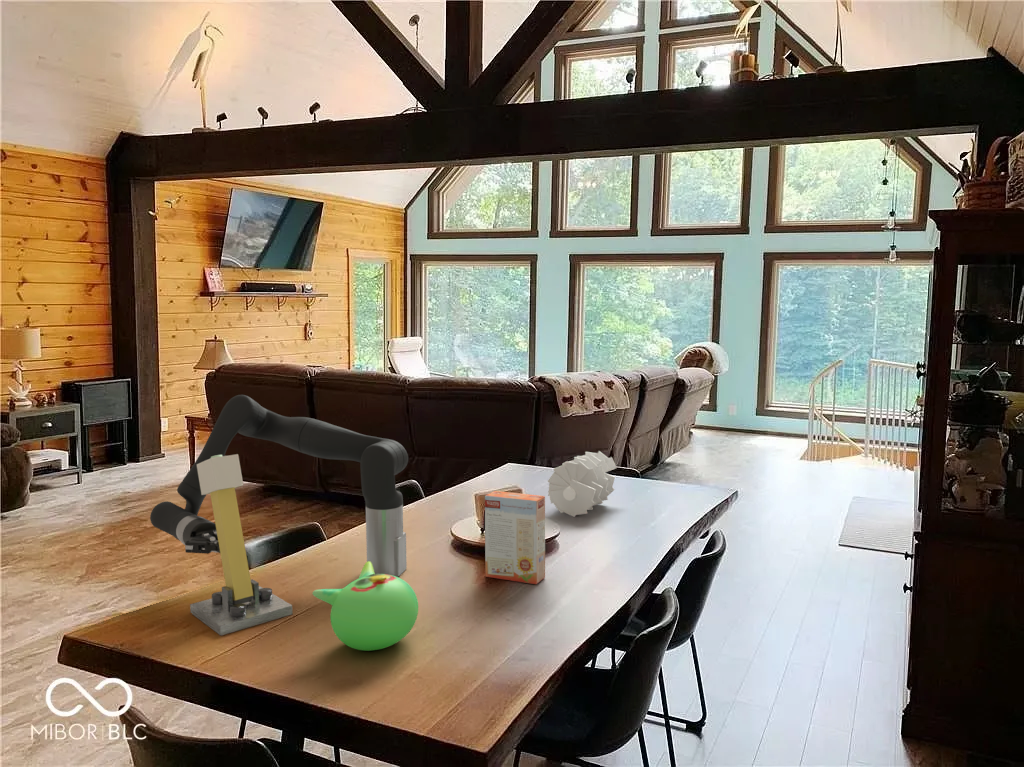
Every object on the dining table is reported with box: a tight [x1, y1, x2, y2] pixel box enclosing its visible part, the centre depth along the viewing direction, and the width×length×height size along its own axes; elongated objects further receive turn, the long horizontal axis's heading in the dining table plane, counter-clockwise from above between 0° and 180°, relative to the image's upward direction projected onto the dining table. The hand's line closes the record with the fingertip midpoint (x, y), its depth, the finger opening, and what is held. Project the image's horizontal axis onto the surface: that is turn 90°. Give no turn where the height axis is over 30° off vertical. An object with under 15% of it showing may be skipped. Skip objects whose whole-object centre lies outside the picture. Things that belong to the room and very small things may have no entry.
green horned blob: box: [312, 561, 419, 652], centre depth 156 cm, size 18×17×15 cm
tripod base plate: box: [189, 578, 294, 636], centre depth 171 cm, size 16×16×6 cm
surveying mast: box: [197, 453, 253, 605], centre depth 173 cm, size 9×6×33 cm, turn 43°
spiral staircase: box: [547, 450, 618, 518], centre depth 255 cm, size 18×18×25 cm
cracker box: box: [484, 490, 546, 585], centre depth 192 cm, size 14×6×21 cm, turn 65°
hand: (228, 550), depth 174 cm, fingers closed
